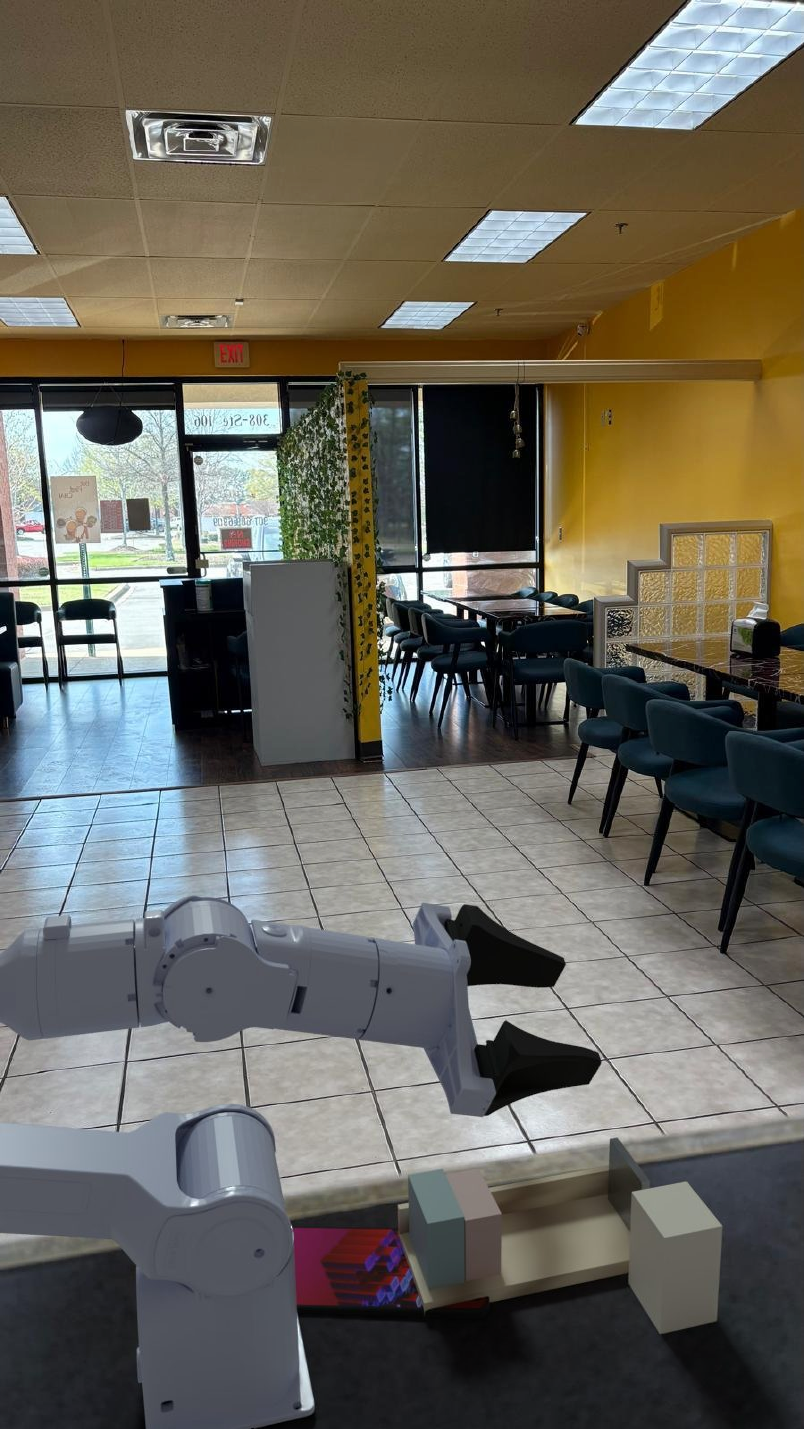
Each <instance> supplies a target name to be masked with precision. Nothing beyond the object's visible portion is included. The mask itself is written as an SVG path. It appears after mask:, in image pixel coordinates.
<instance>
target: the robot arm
mask: <svg viewBox="0 0 804 1429" xmlns="http://www.w3.org/2000/svg"><path fill="white" fill-rule="evenodd" d="M452 918H453V916H452V912H451V907H450V906H445V905H441V904H433V903H428V902H422V903H421V904H420V907H419V908H418V911H417V914H416V916H415V917H414V920H413V922H412V929H413V936H414V943H408V942H401V941H395V940H390V939H385V938H384V939H382V938H377V937H371V936H363V935H358V934H353V933H345V932H341V931H340V932H339V931H333V930H327V929H320V928H314V927H308V926H302V925H290V924H286V923H285V924H284V923H277V922H273V921H272V922H271V921H265V920H258V919H251V921H250V923H251V925H250V923H249V921H248V918H247V917H246V915H245V914H244V913H243V912H242V911H241V910H240V909H239V908H238V907H237V906H236V905H234V904H233V903H230V902H229V901H227V900H224V899H222V898H218V897H211V896H202V897H201V896H198V895H196V894H194V895H193V894H190V895H187V896H185V897H182V898H180V899H178V900H176V901H174V902H172V904H170V905H169V906H168V907H167V908H165V910H164V911H163V910H162V909H157V910H155V909H154V910H146V911H144V917H143V918H136V919H134V918H133V919H124V920H122V919H121V920H111V921H102V922H91V923H81V924H80V923H79V924H73V925H72V917H71V916H70V915H69V914H67V915H55V916H47V917H46V918H45V921H44V925H43V927H42V928H41V927H40V928H38V927H37V928H30V929H29V928H28V929H26V930H24V931H22V932H21V933H20V934H19V935H18V937H17V938H16V939H15V940H13V942H12V943H11V944H10V945H9V946H8V947H7V948H5V949H4V950H3V951H1V952H0V1023H1V1024H3V1025H4V1026H5V1027H7V1028H9V1029H10V1030H11V1031H13V1032H14V1033H16V1034H17V1035H18V1036H20V1037H21V1038H22V1039H25V1040H26V1041H36V1040H48V1039H54V1038H64V1037H71V1036H79V1035H88V1034H96V1033H104V1032H105V1033H106V1032H114V1031H122V1030H129V1029H137V1028H145V1027H146V1028H147V1027H152V1026H153V1027H154V1026H157V1025H160V1024H165V1023H170V1025H173V1026H174V1027H175V1028H178V1029H179V1030H180V1029H181V1028H183V1029H186V1032H187V1033H191V1034H192V1036H193V1040H194V1042H196V1043H211V1042H217V1041H221V1040H225V1039H228V1038H230V1037H232V1036H234V1035H237V1034H238V1033H239V1032H242V1031H244V1030H246V1029H250V1028H259V1029H260V1028H261V1029H266V1030H279V1031H288V1032H297V1033H304V1034H314V1035H321V1036H328V1037H336V1038H344V1039H345V1038H346V1039H353V1040H356V1041H357V1040H358V1041H363V1042H364V1041H366V1042H372V1043H374V1042H375V1043H381V1044H388V1045H389V1044H390V1045H396V1046H397V1045H398V1046H404V1047H405V1046H406V1047H413V1048H414V1047H415V1048H419V1049H420V1048H422V1049H423V1050H424V1052H425V1054H426V1057H427V1058H428V1061H429V1063H430V1064H431V1066H432V1068H433V1071H434V1073H435V1074H436V1076H437V1079H438V1081H439V1082H440V1085H441V1087H442V1089H443V1091H444V1094H445V1097H446V1100H447V1103H448V1108H449V1112H450V1114H451V1115H458V1116H459V1115H460V1116H469V1117H478V1118H483V1117H487V1116H490V1115H492V1114H494V1113H495V1112H497V1111H498V1110H501V1109H503V1108H505V1107H507V1106H509V1105H511V1104H513V1103H516V1102H518V1101H521V1100H522V1099H525V1098H529V1097H532V1096H535V1095H538V1094H543V1093H547V1092H552V1091H555V1090H561V1089H567V1088H572V1087H573V1088H574V1087H580V1086H587V1085H590V1084H591V1081H592V1080H593V1078H594V1077H595V1075H596V1073H597V1072H598V1070H599V1069H600V1067H601V1065H602V1059H601V1056H600V1053H599V1052H598V1051H596V1050H593V1049H590V1048H587V1047H584V1046H580V1045H575V1044H569V1043H563V1042H558V1041H554V1040H550V1039H546V1038H544V1037H540V1036H537V1035H535V1034H532V1033H531V1032H528V1031H525V1030H524V1029H521V1028H519V1027H518V1026H517V1025H515V1024H512V1023H511V1022H509V1021H508V1020H507V1019H505V1020H504V1021H503V1022H502V1024H501V1026H500V1027H499V1029H498V1032H497V1033H496V1035H495V1037H494V1039H493V1040H490V1039H487V1040H485V1044H480V1043H479V1044H478V1040H477V1036H476V1031H475V1028H474V1022H473V1019H472V1016H471V1012H470V1006H469V990H468V987H473V986H487V985H503V986H504V985H507V986H515V987H527V988H544V989H545V988H554V987H555V986H556V984H557V982H558V981H559V978H560V977H561V975H562V972H563V971H564V969H565V967H566V966H567V964H566V961H565V957H563V956H561V955H559V954H557V953H555V952H552V951H550V950H548V949H546V948H544V947H541V946H540V945H536V944H535V943H533V942H531V941H528V940H527V939H524V938H523V937H520V936H519V935H516V934H515V933H514V932H511V931H509V930H508V929H507V928H505V927H503V926H502V925H500V924H499V923H498V922H496V921H495V920H494V919H493V918H491V917H490V916H489V915H488V914H486V912H484V911H483V910H482V909H481V908H480V906H478V905H472V904H468V903H466V904H465V903H464V904H463V905H461V907H460V908H459V910H458V913H457V914H456V917H455V919H452ZM276 1148H277V1147H276V1138H275V1133H274V1131H273V1128H272V1126H271V1125H270V1123H269V1121H268V1120H267V1118H265V1117H264V1115H262V1114H261V1112H258V1111H257V1110H256V1109H254V1108H252V1107H249V1106H246V1105H243V1104H241V1103H240V1104H238V1103H221V1104H217V1105H212V1106H210V1107H208V1108H204V1109H201V1110H198V1111H195V1112H187V1113H183V1112H182V1113H181V1112H180V1113H177V1112H162V1113H160V1114H159V1115H157V1116H155V1117H153V1118H152V1119H150V1120H149V1121H147V1122H146V1123H144V1124H143V1125H141V1126H140V1127H138V1128H136V1129H134V1130H132V1131H130V1132H124V1131H113V1130H100V1129H99V1130H98V1129H87V1128H76V1127H63V1126H52V1125H51V1126H50V1125H49V1126H48V1125H39V1124H37V1125H36V1124H26V1123H15V1122H4V1121H3V1122H2V1121H0V1234H9V1235H11V1234H13V1235H24V1236H25V1235H29V1236H45V1237H46V1236H47V1237H65V1238H84V1239H102V1240H112V1241H114V1242H115V1243H116V1244H117V1245H118V1246H119V1247H120V1248H121V1249H122V1250H123V1251H124V1253H125V1254H126V1255H127V1256H128V1257H129V1259H130V1260H131V1261H132V1262H133V1263H134V1265H136V1266H135V1279H136V1280H135V1285H136V1286H135V1290H136V1292H135V1294H136V1296H135V1297H136V1313H137V1314H136V1315H137V1316H136V1317H137V1335H138V1336H137V1338H138V1347H137V1348H136V1372H137V1381H138V1383H139V1384H141V1383H142V1384H141V1385H142V1386H141V1387H142V1396H143V1398H142V1399H143V1407H144V1408H143V1409H144V1421H145V1429H251V1428H254V1429H257V1428H262V1427H266V1426H269V1425H275V1424H278V1423H283V1422H287V1421H292V1420H297V1419H301V1418H306V1417H308V1416H309V1417H310V1415H312V1414H313V1413H314V1412H315V1399H314V1394H313V1389H312V1384H311V1378H310V1373H309V1368H308V1362H307V1357H306V1351H305V1348H304V1342H303V1335H302V1330H301V1326H300V1321H299V1315H298V1313H297V1304H296V1282H295V1260H294V1236H293V1229H292V1226H293V1225H292V1223H291V1219H290V1218H289V1216H288V1214H287V1211H286V1210H287V1209H286V1206H285V1201H284V1200H285V1199H284V1194H283V1190H282V1183H281V1178H280V1173H279V1167H278V1162H277V1158H276V1153H277V1152H276V1151H277V1149H276ZM296 1408H298V1409H296Z"/></svg>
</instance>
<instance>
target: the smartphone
mask: <svg viewBox="0 0 804 1429" xmlns="http://www.w3.org/2000/svg"><path fill="white" fill-rule="evenodd" d="M291 1226H292V1229H293V1236H294V1260H295V1282H296V1304H297V1314H315V1315H316V1314H318V1315H321V1314H323V1315H351V1316H352V1315H353V1316H378V1317H379V1316H380V1317H381V1316H382V1317H409V1318H410V1317H412V1318H413V1317H414V1318H440V1319H442V1318H443V1319H473V1320H478V1319H482V1318H484V1317H485V1316H488V1314H489V1312H490V1310H491V1309H490V1307H491V1306H490V1303H491V1302H489V1296H486V1297H482V1298H476V1299H473V1300H468V1301H464V1302H459V1303H455V1304H450V1305H446V1306H441V1307H437V1308H432V1309H429V1310H426V1311H425V1316H424V1308H423V1305H422V1302H421V1299H420V1296H419V1294H418V1291H417V1288H416V1285H415V1282H414V1279H413V1277H412V1274H411V1271H410V1268H409V1265H408V1262H407V1260H406V1257H405V1254H404V1251H403V1248H402V1245H401V1242H400V1240H399V1237H398V1227H359V1226H358V1227H357V1226H356V1227H353V1226H305V1225H304V1226H303V1225H302V1226H300V1225H299V1226H296V1225H294V1226H293V1225H291Z"/></svg>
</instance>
